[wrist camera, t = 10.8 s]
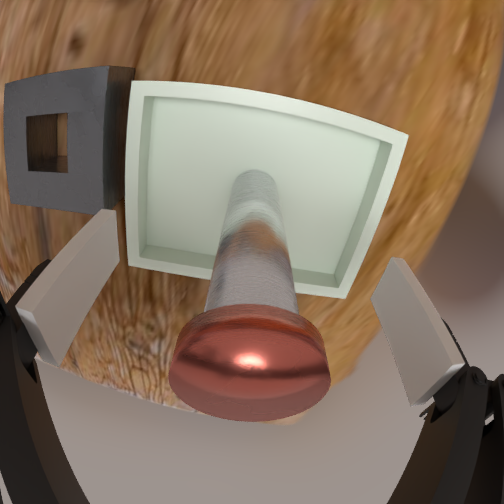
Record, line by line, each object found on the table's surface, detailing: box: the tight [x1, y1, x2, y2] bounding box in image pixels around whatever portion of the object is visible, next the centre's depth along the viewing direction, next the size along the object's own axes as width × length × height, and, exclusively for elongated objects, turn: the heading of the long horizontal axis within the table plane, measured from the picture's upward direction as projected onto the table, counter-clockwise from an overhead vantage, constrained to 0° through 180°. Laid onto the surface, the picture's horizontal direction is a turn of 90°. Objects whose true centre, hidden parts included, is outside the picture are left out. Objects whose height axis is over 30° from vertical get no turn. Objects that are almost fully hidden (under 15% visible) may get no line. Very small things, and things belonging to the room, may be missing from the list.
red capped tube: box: [168, 170, 331, 422], centre depth 13 cm, size 4×4×15 cm
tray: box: [125, 81, 409, 299], centre depth 19 cm, size 18×14×2 cm
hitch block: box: [4, 66, 135, 215], centre depth 16 cm, size 10×10×4 cm
